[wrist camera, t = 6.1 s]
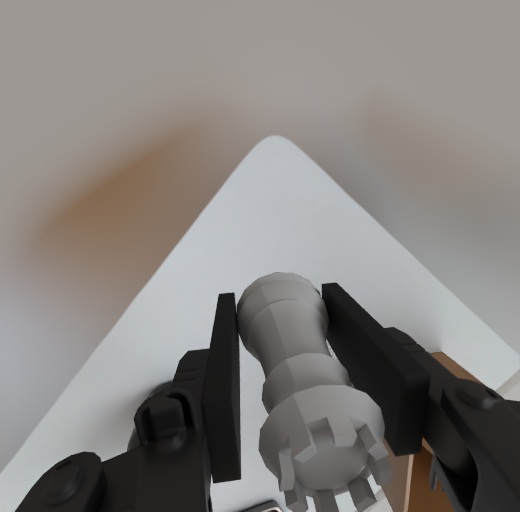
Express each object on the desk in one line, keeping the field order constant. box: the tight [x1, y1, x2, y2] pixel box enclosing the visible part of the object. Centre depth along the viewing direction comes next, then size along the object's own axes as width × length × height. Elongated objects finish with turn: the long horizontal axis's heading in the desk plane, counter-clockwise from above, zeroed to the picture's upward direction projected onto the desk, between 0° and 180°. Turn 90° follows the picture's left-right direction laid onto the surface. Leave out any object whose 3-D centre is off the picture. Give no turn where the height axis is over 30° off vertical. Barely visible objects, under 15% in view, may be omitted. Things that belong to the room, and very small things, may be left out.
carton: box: [381, 352, 484, 512], centre depth 32 cm, size 14×12×10 cm
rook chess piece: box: [236, 272, 393, 512], centre depth 9 cm, size 4×4×8 cm
